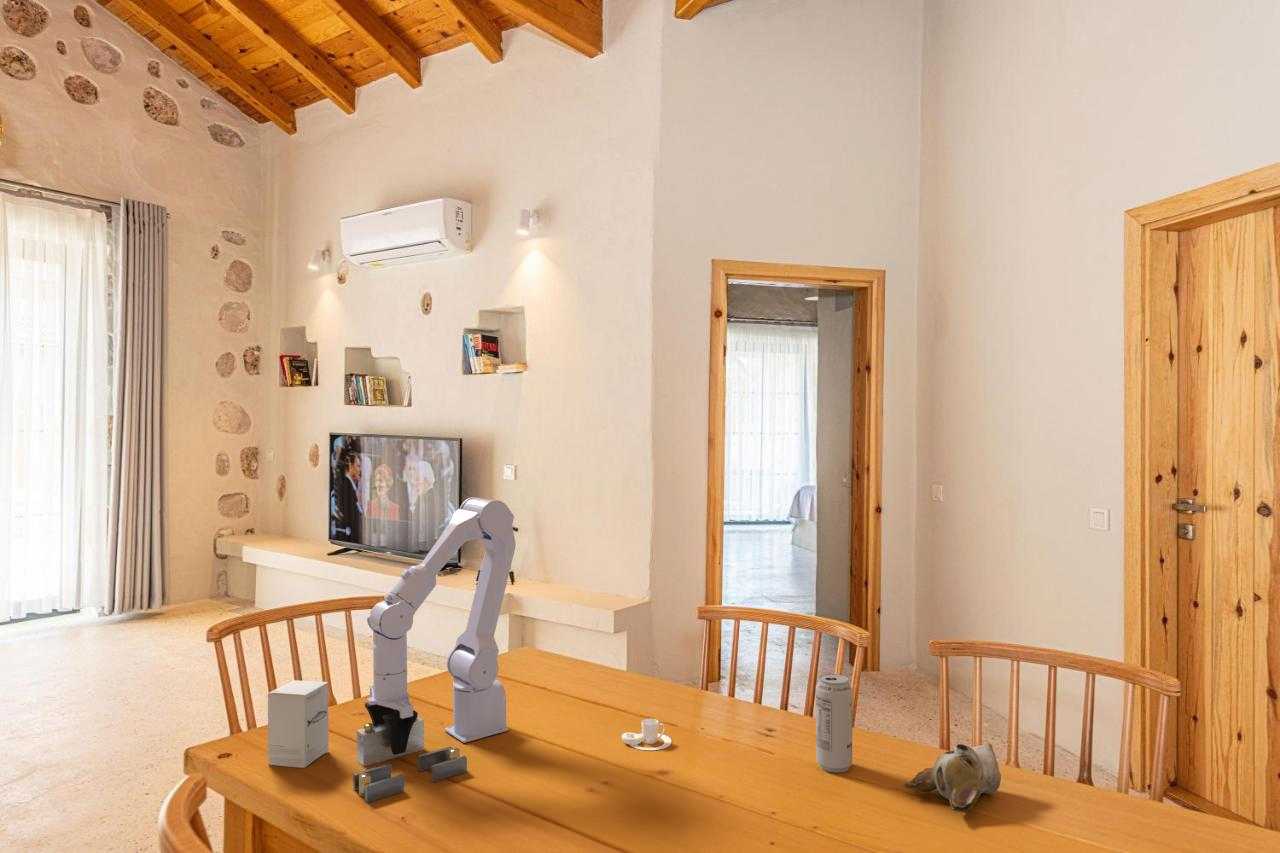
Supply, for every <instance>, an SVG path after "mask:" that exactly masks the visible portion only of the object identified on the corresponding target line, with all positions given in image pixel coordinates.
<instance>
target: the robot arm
mask: <svg viewBox="0 0 1280 853" xmlns="http://www.w3.org/2000/svg"><path fill="white" fill-rule="evenodd" d="M514 518H515V515H514V514H513V512H512V511H511V509H510V508H509V507H508V505H507V504H506V503H504V502H503V501H501V500H498V499H497V500H496V499H494V500H493V499H491V500H490V499H486V498H481V497H478V496H477V497H476V496H471V497H468V498H467V499H465V500H464V501H463V502H461V504H460V506H459V508H458V509H456V510H455V511H454V513H453V514H452V517H451V519H450V521H449V523H448V525H447V527H445V529H444V531H443V532H442V533H441V535H440V536H439V538H438V539H437V541H436V542H435V544H433V546H432V548H431V549H430V550H429V552H428V553H427V555H426V556H425V558H424V559H423V561H422V562H421V563H420V564H416V565H411V566H410V567H409V568H408V569H404V570H403V571H402V572H401V573H400V577H401V578H400V579H399V580H398V582H397V583H396V584H395V586H394V587H393V588H392V589H391V591H390V592H389V593H386V594H385V595H384V596H383V599H384V600H382V601H380V602H378V603H376V604H374V606H373V607H372V608H371V610H370V611H369V615H370V616H369V617H367V618H366V622H367V625H368V627H369V628H370V629H371V630H372V632H373V633H372V637H373V638H372V640H373V641H372V642H373V646H372V658H373V659H372V661H373V662H372V664H373V666H372V668H373V671H372V672H373V676H372V677H373V684H371V685H370V686H369V697H368V698H366V702H365V703H364V707H365V709H366V710H367V712H368V715H369V717H370V719H371V723H373V726H375V725H379V724H383V723H386V726H387V728H388V732H389V737H390V744H391V750H392V753H393V755H397V754H400V753H404V752H405V751H406V747H407V743H408V738H409V734H410V731H411V728H412V726H413V724H414V722H415V720H416V719H417V716H419V714H418V712H417V711H416V710H414V705H413V704H412V703H411V699H410V693H409V692H408V648H407V647H408V642H407V639H408V636H407V633H408V632H409V631H410V630H411V629H412V626H413V623H414V615H415V614H416V612H417V611H418V610H419V608H420V607H421V606H422V604H423V603H424V602H425V601H426V599H427V598H428V597H429V595H430V594H431V593H432V591H433V590H434V589H435V588H436V587H437V575H438V573H439V572H441V570H442V569H443V568H444V567H445V565H446V564H447V563H448V562H449V561H450V560H451V558H452V557H453V556H454V555H455V554H456V552H458V550H460V548H461V547H462V546H463V545H464V543H466V542H470V541H473V540H474V541H475V540H478V541H479V542H480V543H481V545H482V546H483V548H484V555H483V559H482V562H481V568H480V571H479V576H478V580H477V583H476V587H475V590H474V591H475V592H474V594H473V599H472V603H471V607H470V612H469V616H468V618H467V619H468V620H467V624H466V628H465V630H464V631H463V632H462V633H461V634H460V635H459V636H458V637H457V638H456V642H455V646H454V647H453V649H452V650H451V652H450V653H449V655H448V657H447V659H446V668H447V669H446V670H447V671H448V673H449V674H450V675H451V676H452V677H453V679H452V682H453V683H452V688H453V689H452V691H453V692H452V696H453V698H452V699H453V700H452V701H453V702H452V703H453V705H452V706H453V708H452V709H453V712H452V713H453V714H452V715H453V716H452V717H453V718H452V719H453V725H452V726H448V727H445V728H444V731H445V732H446V733H448V734H449V735H451V736H452V737H454V738H456V739H457V740H458V741H460V742H462V743H468V742H472V741H475V740H479V739H483V738H486V737H489V736H493V735H498V734H501V733H504V732H507V731H509V727H507V694H506V689H505V686H504V685H503V683H502V682H501V681H500V680H499V679H497V677H498V675H499V664H498V663H499V662H498V656H499V652H500V651H499V647H498V645H497V642H496V639H495V633H496V630H497V625H498V621H499V616H500V612H501V608H502V604H503V600H504V595H505V591H506V588H507V584H508V579H509V576H510V570H511V566H512V564H513V563H512V562H513V558H514V555H515V550H516V539H515V533H514V529H513V528H514V526H513V523H514Z"/></svg>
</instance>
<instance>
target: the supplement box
mask: <svg viewBox="0 0 1280 853" xmlns="http://www.w3.org/2000/svg"><path fill="white" fill-rule="evenodd" d="M328 752H329V682H328V681H319V680H317V681H315V680H298V679H297V680H296V679H294V680H293V679H292V680H290V681H289V682H287V683H285V684H283V685H282V686H279V687H278V688H275V689H273V690H272V691H270V692H268V693H267V759H268V760H267V765H269V766H278V767H287V768H301V769H305V768H306V767H308V766H309V765H310V764H311V763H313V762H314V761H316V760H318V759H319V758H320V757H321V756H323V755H325V754H326V753H328Z"/></svg>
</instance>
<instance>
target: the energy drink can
mask: <svg viewBox="0 0 1280 853" xmlns="http://www.w3.org/2000/svg"><path fill="white" fill-rule="evenodd" d="M849 682H850V681H849V678H848V677H847V676H845V675H841V674H837V673H825V674H822V675H820V676H819V681H818V683H817V684H816V686H815V760H816V762H817V764H819V765H818V766H819V767H820V769H821V770H823V771H826V772H829V773H835V774H836V773H840V774H841V773H845V772H847V771H848V770H849V769H850V767H851V766H852V765H853V688H852V686H851V684H850V683H849Z"/></svg>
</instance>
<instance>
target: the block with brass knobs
mask: <svg viewBox="0 0 1280 853" xmlns="http://www.w3.org/2000/svg"><path fill="white" fill-rule="evenodd" d="M424 750H425V719H424V718H422V717H421V716H419V715H418V716H417V719H416V720H415V722H414V724H413V726H412V728H411V731H410V734H409V738H408V743H407V747H406V751H405V752H404V753H400V754H397V755H393V753H392V750H391V744H390V737H389V732H388V728H387V726H386V723H383V724H379V725H375V726H373V723H372V722H367V723H364V724H363V728H360V729H359V728H358V729H357V730H356V760H357V762H358V763H359V764H360V765H361V766H363V767H366V766H370V765H374V764H377V763H380V762H381V763H382V762H384V761H388V760H392V759H396V758H399V757H403V756H406V755H411V754H414V753H416V752H420V751H424ZM413 752H414V753H413Z"/></svg>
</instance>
